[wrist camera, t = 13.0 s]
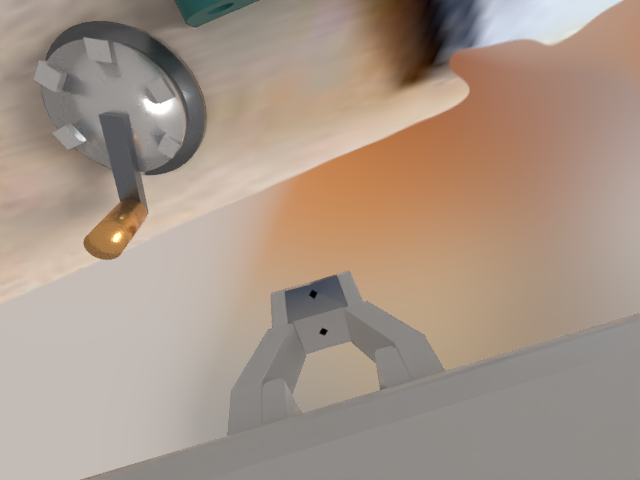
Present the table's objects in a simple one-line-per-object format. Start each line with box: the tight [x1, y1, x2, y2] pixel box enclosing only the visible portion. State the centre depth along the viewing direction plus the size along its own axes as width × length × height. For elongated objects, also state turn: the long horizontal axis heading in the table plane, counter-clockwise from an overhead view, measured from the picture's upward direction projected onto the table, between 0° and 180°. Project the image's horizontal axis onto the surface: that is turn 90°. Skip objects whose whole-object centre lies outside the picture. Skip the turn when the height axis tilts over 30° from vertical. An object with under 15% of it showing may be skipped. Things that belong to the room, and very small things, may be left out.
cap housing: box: [45, 21, 207, 175], centre depth 31 cm, size 15×15×2 cm
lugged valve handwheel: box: [33, 37, 189, 260], centre depth 27 cm, size 18×12×12 cm
